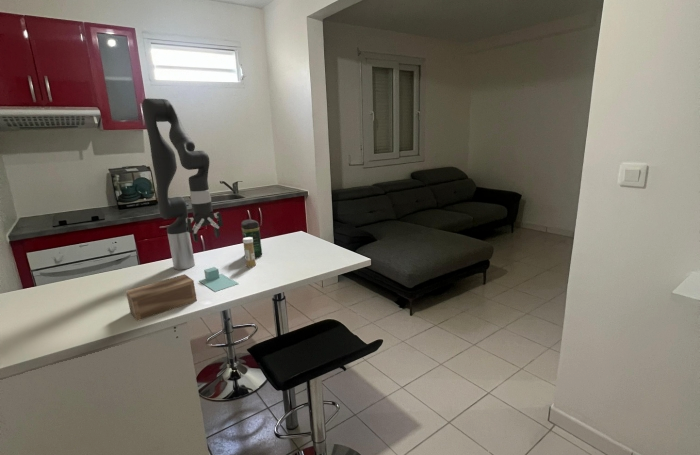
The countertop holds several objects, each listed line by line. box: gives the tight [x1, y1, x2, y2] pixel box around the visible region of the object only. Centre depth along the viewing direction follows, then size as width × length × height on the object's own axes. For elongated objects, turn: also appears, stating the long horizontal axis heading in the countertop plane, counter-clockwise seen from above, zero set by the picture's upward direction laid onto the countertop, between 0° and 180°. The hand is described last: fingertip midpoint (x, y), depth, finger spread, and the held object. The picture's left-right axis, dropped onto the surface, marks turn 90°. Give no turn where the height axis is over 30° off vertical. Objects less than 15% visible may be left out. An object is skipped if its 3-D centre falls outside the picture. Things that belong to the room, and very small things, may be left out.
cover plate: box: [198, 266, 239, 293], centre depth 148 cm, size 16×10×5 cm, turn 44°
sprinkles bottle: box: [242, 237, 257, 268], centre depth 165 cm, size 5×5×14 cm
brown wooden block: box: [125, 273, 198, 322], centre depth 128 cm, size 9×20×8 cm, turn 133°
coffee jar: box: [240, 218, 263, 259], centre depth 178 cm, size 10×8×19 cm
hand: (207, 239), depth 148 cm, fingers open, 8 cm apart
